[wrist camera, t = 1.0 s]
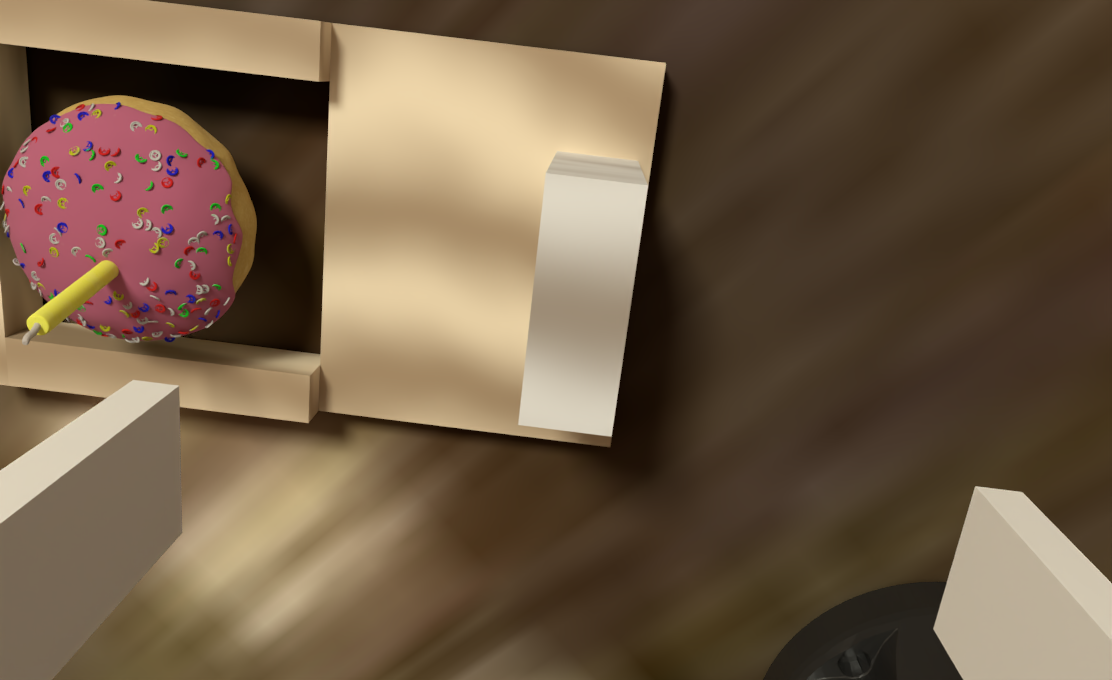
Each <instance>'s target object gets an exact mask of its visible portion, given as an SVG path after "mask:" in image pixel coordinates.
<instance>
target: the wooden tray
mask: <svg viewBox="0 0 1112 680" xmlns="http://www.w3.org/2000/svg"><path fill="white" fill-rule="evenodd" d="M26 46H27V47H35V48H44V49H52V50H60V51H68V52H77V53H85V54H93V55H102V56H110V57H118V58H126V59H135V60H143V61H151V62H160V63H168V64H176V65H184V66H193V67H201V68H209V69H218V70H226V71H234V72H242V73H251V74H259V75H267V76H276V77H284V78H292V79H300V80H309V81H317V82H323V81H330V92H329V121H328V150H327V180H326V209H325V238H324V268H323V297H322V327H321V354H314V353H306V352H298V351H290V350H282V349H274V348H265V347H257V346H249V345H241V344H233V343H225V342H217V341H209V340H201V339H193V338H185V337H177V338H175V340H174V341H172V342H166V341H165V339H162V340H154V341H140V342H139V343H136V342H135V343H129V342H127V341H126V340H125V339H118V338H116V339H114V338H111V337H104V336H101V335H97V334H96V333H94V332H93V331H92V330H89V329H87V328H85V327H83V326H81V325H79V324H73V323H65V322H61V323H60V324H58V325H57V326H56V327H55V328H54V329H52V330H51V331H50V332H49V333H47V334H45V335H36V336H35V337H33V338H32V339H31V340H30V342H29V344H28V345H23V344H22V339H23V337H24V335H25V334H26V333H27V332H29V331H30V330H29V329H28V327H27V319H28V318H29V317H30V316H31V315H32V314H33V313H35V312H36V311H37V310H39V309H40V308H41V307H43V297H42V296H40V294H39V292H38V291H37V290H33V289H32V288H31V284H30V281H29V278H28V277H27V276H26V274H25V273H24V271H23V269H22V267H21V266H17V265H15V264H14V263H13V259H15V258H17V256H16V254H15V251H14V248H13V246H12V243H11V240H10V237H9V238H8V237H7V233H5V228H4V227H3V220H4V217H5V208H4V207H3V209H2V210H0V384H1V385H9V386H17V387H25V388H33V389H41V390H48V391H56V392H64V393H72V394H80V395H88V396H96V397H104V398H107V397H109V396H110V395H112V394H113V393H115V392H116V391H118V390H119V389H121V388H122V387H124V386H125V385H126V384H128V383H129V382H131V381H132V380H139V381H146V382H154V383H162V384H170V385H178V386H179V398H180V407H184V408H192V409H200V410H208V411H216V412H224V413H232V414H240V415H248V416H256V417H264V418H272V419H280V420H288V421H296V422H304V423H309V422H310V421H311V419H312V418H313V417H314V416H315V415H316V413H317V412H318V411H325V412H333V413H341V414H349V415H357V416H365V417H373V418H381V419H389V420H397V421H405V422H413V423H421V424H429V425H437V426H445V427H453V428H461V429H469V430H477V431H485V432H493V433H501V434H509V435H517V436H525V437H533V438H541V439H549V440H557V441H565V442H573V443H581V444H589V445H597V446H605V447H610V445H611V438H612V431H613V425H614V418H615V411H616V404H617V397H618V390H619V383H620V376H621V370H622V363H623V356H624V349H625V342H626V335H627V328H628V321H629V315H630V308H631V301H632V294H633V287H634V280H635V273H636V267H637V260H638V253H639V246H640V239H641V232H642V225H643V218H644V212H645V205H646V198H647V191H648V184H649V177H650V170H651V163H652V157H653V150H654V143H655V136H656V129H657V122H658V115H659V108H660V102H661V95H662V88H663V81H664V74H665V67H666V63H661V62H653V61H644V60H636V59H628V58H619V57H611V56H603V55H594V54H586V53H577V52H569V51H561V50H552V49H544V48H536V47H527V46H519V45H511V44H502V43H494V42H486V41H477V40H469V39H461V38H452V37H444V36H436V35H427V34H419V33H411V32H402V31H394V30H386V29H377V28H369V27H361V26H352V25H344V24H335V23H328V22H322V21H315V20H306V19H298V18H289V17H281V16H273V15H264V14H256V13H248V12H239V11H231V10H223V9H214V8H206V7H198V6H189V5H181V4H173V3H164V2H156V1H148V0H0V207H1V205H2V203H3V201H4V200H3V195H2V194H1V192H2V184H3V180H4V177H5V175H6V173H7V171H8V169H9V167H10V165H11V163H12V161H13V160H14V158H15V156H16V154H17V152H18V150H19V149H20V147H21V145H22V144H23V143H24V141H25V140H26V139H27V138H28V137H29V136H30V134H31V133H32V132H31V117H30V102H29V87H28V72H27V57H26ZM5 224H6V223H5ZM5 226H6V225H5ZM6 227H7V226H6ZM17 261H18V260H17ZM18 262H19V261H18ZM18 262H16V263H18ZM33 287H34V286H33ZM169 340H171V339H169ZM132 341H133V340H132Z"/></svg>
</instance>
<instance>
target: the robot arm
mask: <svg viewBox="0 0 1112 680" xmlns="http://www.w3.org/2000/svg"><path fill="white" fill-rule="evenodd" d="M181 533H182V504H181V451H180V398H179V386H178V385H170V384H162V383H154V382H146V381H139V380H132V381H131V382H129V383H128V384H126V385H125V386H124V387H122V388H121V389H119V390H118V391H116V392H115V393H113V394H112V395H110V396H109V397H107V398H106V399H104V400H103V401H102V402H100V403H99V404H97V405H96V406H94V407H93V408H91V409H90V410H88V411H87V412H85V413H84V414H82V415H81V416H80V417H78V418H77V419H75V420H74V421H72V422H71V423H69V424H68V425H66V426H65V427H63V428H62V429H61V430H59V431H58V432H56V433H55V434H53V435H52V436H50V437H49V438H47V439H46V440H44V441H43V442H41V443H40V444H39V445H37V446H36V447H34V448H33V449H31V450H30V451H28V452H27V453H25V454H24V455H22V456H21V457H19V458H18V459H17V460H15V461H14V462H12V463H11V464H9V465H8V466H6V467H5V468H3V469H2V470H0V680H52V679H53V678H54V677H55V675H56V674H57V673H58V672H59V671H60V670H61V669H62V668H63V666H64V665H65V664H66V663H67V662H68V661H69V660H70V659H71V657H72V656H73V655H74V654H75V653H76V652H77V651H78V649H79V648H80V647H81V646H82V645H83V644H84V643H85V642H86V640H87V639H88V638H89V637H90V636H91V635H92V634H93V633H94V631H95V630H96V629H97V628H98V627H99V626H100V625H101V624H102V622H103V621H104V620H105V619H106V618H107V617H108V616H109V615H110V613H111V612H112V611H113V610H114V609H115V608H116V607H117V605H118V604H119V603H120V602H121V601H122V600H123V599H124V598H125V596H126V595H127V594H128V593H129V592H130V591H131V590H132V589H133V587H134V586H135V585H136V584H137V583H138V582H139V581H140V580H141V578H142V577H143V576H144V575H145V574H146V573H147V572H148V571H149V569H150V568H151V567H152V566H153V565H154V564H155V563H156V561H157V560H158V559H159V558H160V557H161V556H162V555H163V554H164V552H165V551H166V550H167V549H168V548H169V547H170V546H171V545H172V543H173V542H174V541H175V540H176V539H177V538H178V537H179V536H180V534H181ZM763 680H1112V583H1111V582H1110V581H1109V580H1108V579H1107V578H1106V577H1105V576H1104V575H1103V574H1102V573H1101V572H1100V571H1099V570H1098V569H1097V568H1096V567H1095V566H1094V565H1093V564H1092V563H1091V562H1090V561H1089V560H1088V559H1087V558H1086V557H1085V556H1084V555H1083V554H1082V553H1081V552H1080V551H1079V550H1078V549H1077V548H1076V547H1075V546H1074V545H1073V544H1072V543H1071V541H1070V540H1069V539H1068V538H1067V537H1066V536H1065V535H1064V534H1063V533H1062V532H1061V531H1060V530H1059V529H1058V528H1057V527H1056V526H1055V525H1054V524H1053V523H1052V522H1051V521H1050V520H1049V519H1048V518H1047V517H1046V516H1045V515H1044V514H1043V513H1042V512H1041V511H1040V510H1039V509H1038V508H1037V507H1036V506H1035V505H1034V504H1033V503H1032V502H1031V501H1030V500H1029V499H1028V498H1027V497H1026V496H1025V495H1024V494H1023V493H1022V492H1016V491H1008V490H1001V489H993V488H985V487H977V486H975V489H974V492H973V496H972V499H971V503H970V506H969V509H968V513H967V516H966V519H965V523H964V526H963V530H962V533H961V536H960V540H959V543H958V547H957V550H956V553H955V557H954V560H953V564H952V567H951V570H950V574H949V577H948V581H947V582H919V583H909V584H902V585H896V586H891V587H886V588H882V589H878V590H875V591H871V592H868V593H865V594H862V595H860V596H857V597H854V598H852V599H850V600H848V601H845V602H843V603H841V604H839V605H837V606H835V607H833V608H832V609H830V610H828V611H827V612H825V613H823V614H822V615H820V616H819V617H817V618H816V619H814V620H813V621H812V622H810V623H809V624H808V625H807V626H805V627H804V628H803V629H802V630H801V631H799V632H798V633H797V634H796V635H795V636H794V637H793V638H792V639H791V640H790V641H789V642H788V643H787V644H786V646H785V647H784V648H783V649H782V650H781V652H780V653H779V654H778V656H777V657H776V659H775V660H774V661H773V663H772V664H771V666H770V668H769V670H768V671H767V673H766V675H765V677H764V679H763Z"/></svg>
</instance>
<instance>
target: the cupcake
mask: <svg viewBox="0 0 1112 680" xmlns="http://www.w3.org/2000/svg"><path fill="white" fill-rule="evenodd" d="M1 194H2V195H3V200H4V201H3V203H2V205H1V207H0V210H2V209H3V207H4V208H5V217H4V220H3V227H4V228H5V233H7V237H8V238H9V237H10V240H11V243H12V246H13V248H14V251H15V254H16V256H17V258H15V259H13V263H14V264H15V265H17V266H21V267H22V269H23V271H24V273H25V274H26V276H27V277H28V278H29V281H30V284H31V288H32V289H33V290H37V291H38V292H39V294H40V296H42V297H43V298H44V299H45V300H46V301H47V302H48V303H47V304H45V305H44V306H43V307H41V308H40V309H39V310H37V311H36V312H35V313H33V314H32V315H31V316H30V317H29V318H28V319H27V327H28V329H29V330H30V331H29V332H27V333H26V334H25V335H24V337H23V339H22V344H23V345H28V344H29V342H30V340H31V339H32V338H33V337H35V336H36V335H45V334H47V333H49V332H50V331H51V330H52V329H54V328H55V327H56V326H57V325H58V324H60V323H61V322H62V321H63V320H64V319H66V320H67V321H68V322H70V320H69V318H70V319H71V320H73V321H75V322H76V323H78V324H79V325H81V326H83V327H85V328H87V329H89V330H92V331H93V332H94V333H96V334H97V335H101V336H104V337H111V338H114V339H116V338H118V339H125V340H126V341H127V342H129V343H135V342H136V343H139V342H140V341H154V340H162V339H165V341H166V342H172V341H174V340H175V338H177V337H181V336H184V335H187V334H191V333H194V332H196V331H199V330H202V329H204V328H208V327H210V326H211V325H212V324H213V323H214V322H216V321H217V320H218V319H219V318H220V317H221V316H223V315H224V314H225V312H226V311H227V310H228V309H229V308H230V306H231V305H232V303H233V301H234V299H235V293H236V292H237V290H238V289H239V287H240V286H241V284H242V283H243V281H244V279H245V278H246V276H247V274H248V272H249V270H250V268H251V266H252V263H253V259H254V248H255V239H256V230H257V219H256V213H255V209H254V206H253V203H252V201H251V198H250V196H249V193H248V191H247V188H246V186H245V184H244V182H243V180H242V178H241V177H240V175H239V173H238V170H237V168H236V165H235V162H234V160H233V157H232V156H231V154H230V152H229V151H228V150H227V149H226V148H225V147H224V146H223V145H222V144H221V143H220V142H219V141H218V140H216V139H215V138H214V137H213V136H212V135H211V134H209V133H208V132H207V131H206V130H204V129H203V128H202V127H201V126H200V125H198V124H197V123H196V122H195V121H194V120H193V119H192V118H190V117H189V116H188V115H187V114H185V113H184V112H182V111H181V110H179V109H177V108H175V107H172V106H169V105H166V104H161V103H156V102H152V101H148V100H144V99H140V98H136V97H131V96H122V95H114V96H106V97H101V98H95V99H90V100H86V101H83V102H80V103H77V104H75V105H72V106H70V107H68V108H66V109H64V110H63V111H61V112H60V113H58V114H57V115H52V116H51V117H50V121H48V122H47V123H45V124H43V125H41V126H40V127H38V128H37V129H36V130H35V131H33V132H32V133H31V134H30V136H29V137H28V138H27V139H26V140H25V141H24V143H23V144H22V145H21V147H20V149H19V150H18V152H17V154H16V156H15V158H14V160H13V161H12V163H11V165H10V167H9V169H8V171H7V173H6V175H5V177H4V180H3V184H2V192H1ZM5 223H6V224H5ZM5 225H6V226H7V227H6V226H5ZM17 260H18V261H19V262H18V261H17ZM16 262H18V263H16ZM33 286H34V287H33ZM169 339H171V340H169ZM132 340H133V341H132Z"/></svg>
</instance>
